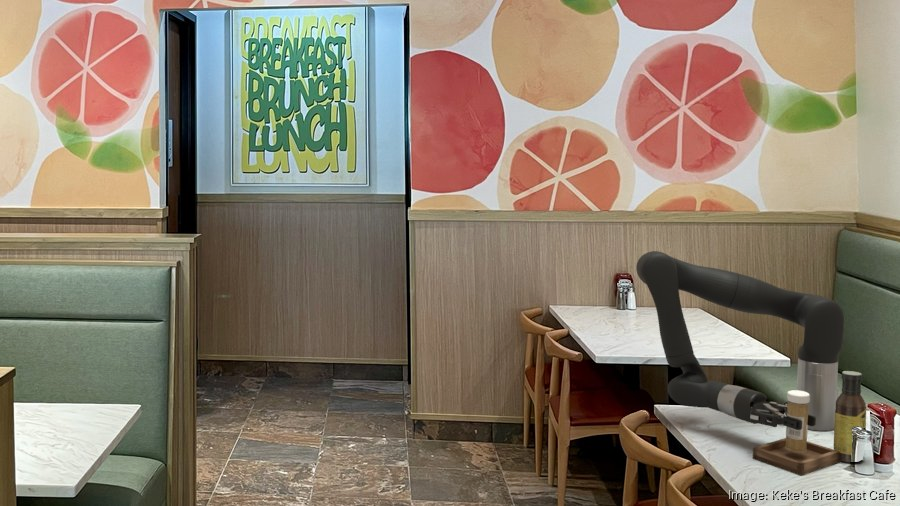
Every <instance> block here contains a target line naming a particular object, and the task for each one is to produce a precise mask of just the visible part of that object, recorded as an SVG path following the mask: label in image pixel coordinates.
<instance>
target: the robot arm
mask: <svg viewBox="0 0 900 506" xmlns="http://www.w3.org/2000/svg"><path fill="white" fill-rule="evenodd" d="M635 267H636V273H637V276H638V277H639V279H640V280H641V281H642V283H644V284H645V285H646V287H647V288H648V291H649V293H650V295H651V298H652V299H653V302H654V307H655V309H656V313H657V321H658V326H659V327H658V328H659V335H660V339H661V340H660V341H661V345H662V349H663V351H664V355H665V359H666V362H667V364H668V365H669V366H670V367H672V368H680V369H681V370H682V374H680V375H678V376H676V377H674V378H672V379H670V381H669V382H668V384H667V393H668V395H669V397H670V398H671V399H672V400H673V401H674V402H675V403H677V404H678V405H681V406H685V407H693V408H707V409H711V410H713V411H717V412H719V413H723V414H725V415H727V416H729V417H731V418H735V419H738V420H741V421H744V422H746V423H750V424H753V425H764V426H767V427H772V428H777V427H778V426H779V427H782V428H783V427H786V426H787V427H790V428H793V429H796V430H801V429H802V421H801V420H799V419H796V418H792V417H789V416H787V408H788V401H784V402H783V404H780V403H778V402H775V401H769V399H768V397H767V396H766V395H765V393H763V392H761V391H756V390H753V389H750V388H747V387H743V386H739V385H732V384H728V383H724V382H722V381H716V380H709V379H708V377H707V374H706V373H705V371H704V369H703V368H702V366H701V364H700V362H699V360H698V358H696V355H695V353H694V348H693V345H692V341H691V338H690V334H689V331H688V326H687V324H686V321H685V317H684V316H685V315H684V312H683V308H682V304H681V303H682V302H681V297H680V292H679V291H683V292H686V293H689V294H692V295H693V296H696V297H699V298H700V299H703V300H705V301H708V302H709V303H713V304H715V305H718V306H720V307H725V308H726V309H727V308H728V309H731V310H733V311H737V312H743V313H746V314H756V315H766V316H772V317H777V318H780V319H783V320H785V321H788V322H791V323H794V324H796V325H798V326H800V327H803V328H804V331H803V332H804V334H803V336H804V337H803V341H802V344H801V345H800V346H799V347H798V353H797V355H798V356H797V378H796V379H797V380H796V390H799V391H804V392H807V393H809V395H810V402H809V404H808V430H812V431H820V432H821V431H822V432H823V431H825V432H827V431H832V430H833V431H834V423H835V410H836V400H837V398H838V397H839V389H838V376H839V375H838V372H839V371H838V369H839V358H840V357H839V355H840V353H841V352H842V348H843V342H844V341H843V339H844V326H845V316H844V311H843V308H842V307H841V305H839V303H837V302H836V301H834V300H832V299H830V298H827V297H826V296H822V295H818V294H813V293H812V294H811V293H804V292H799V291H793V290H788V289H784V288H781V287H779V286H775V285H773V284H771V283H768V282H767V281H763V280H760V279H758V278H756V277H752V276H749V275H745V274H742V273H738V272H734V271H729V270H725V269H721V268H717V267H716V268H714V267H710V266H709V267H708V266H702V265H696V264H692V263H690V262H686V261H683V260H680V259H677V258H675V257H672V256H671V255H669V254H667V253H665V252H662V251H659V250H653V251H648V252H646V253H644V254H642V255H641V256H640V257H639V258H638V260H637V262H636V266H635Z"/></svg>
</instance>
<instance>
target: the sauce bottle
mask: <svg viewBox="0 0 900 506" xmlns="http://www.w3.org/2000/svg"><path fill="white" fill-rule="evenodd" d="M841 381H842V383H841V384H842V385H841V386H842V387H841V393H840V394H839V395H838V398H837V400H836V410H835V423H834V429H833V450H836V451H840V456H839V462H844V463H850V462H851V453H852V440H853V437H852V428H853V426H859V427H863V428H866V427H867V405H866V401H865V400H864V397H862V395H861V394H862V393H861V392H862V387H861V386H862V381H863V374H862V373H861V372H859V371H852V370H851V371H850V370H844V371H842V372H841ZM866 429H867V428H866Z"/></svg>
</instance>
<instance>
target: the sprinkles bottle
mask: <svg viewBox="0 0 900 506" xmlns="http://www.w3.org/2000/svg"><path fill="white" fill-rule="evenodd" d="M786 396H787V397H786V401H787V402H788V408H787V416H789V417H792V418H796V419H799V420H801V421H802V429H801V430H796V429H793V428H790V427H787V426H785V438H786V446H785V449H786V450H787V451H789V452H792V453H797V454H801V453H805V452H806V451H807V448H806V447H807V441H808V440H807V439H808V432H809V429H808V404H809V402H810V395H809V393H807V392H804V391H799V390H797V389H795V390H794V389H793V390H792V389H791V390H788V391H787V395H786Z"/></svg>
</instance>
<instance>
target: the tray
mask: <svg viewBox="0 0 900 506" xmlns="http://www.w3.org/2000/svg"><path fill="white" fill-rule="evenodd" d="M785 446H786V437H783V438H782V439H781V438H780V439H778V440H773V441H771V442H768V443H763V444H761V445H757V446H755V447H753V448H752V459H754V460H756V461H760V462H762V463H765V464H767V465H770V466H773V467H776V468H779V469H782V470H783V471H787V472H791V473H792V474H795V475H798V476H803V475H807V474H809V473H813V472H816V471H818V470H821V469H824V468H827V467H829V466H833V465H835V464H838V463H840V461H839V456H840V451H836V450H834V448H833V449H832V448H829V447H826V446H823V445H820V444H817V443H814V442H810V441H808V440H807V447H806V448H807V451H806V452H805V453H801V454H797V453H792V452H789V451H787V450H786V449H785Z"/></svg>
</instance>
